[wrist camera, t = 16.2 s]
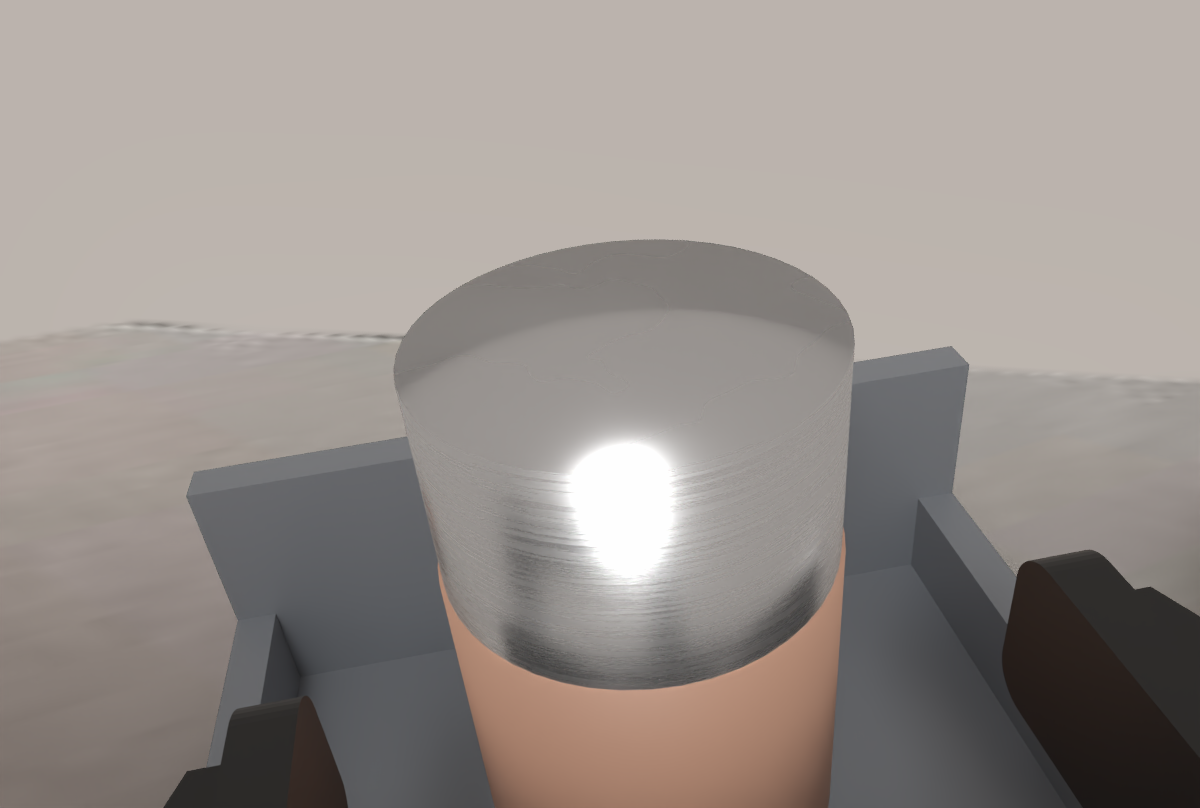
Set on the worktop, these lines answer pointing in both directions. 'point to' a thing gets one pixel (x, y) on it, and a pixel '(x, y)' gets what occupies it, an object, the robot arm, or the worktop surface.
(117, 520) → the worktop surface
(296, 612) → the tote
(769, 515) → the tin can
